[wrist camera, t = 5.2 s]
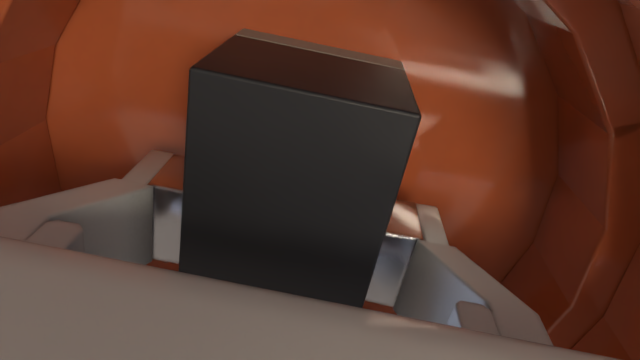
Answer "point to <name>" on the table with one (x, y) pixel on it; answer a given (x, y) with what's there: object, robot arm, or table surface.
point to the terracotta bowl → (431, 139)
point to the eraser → (293, 164)
